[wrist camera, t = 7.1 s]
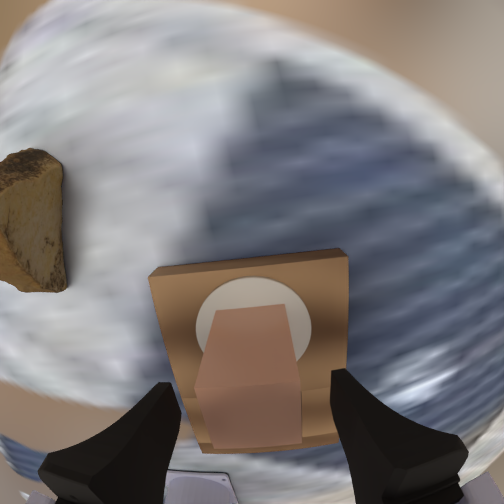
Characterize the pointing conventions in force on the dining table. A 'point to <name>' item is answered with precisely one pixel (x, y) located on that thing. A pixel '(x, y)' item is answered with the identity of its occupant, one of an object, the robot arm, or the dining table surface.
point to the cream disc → (253, 295)
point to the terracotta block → (250, 380)
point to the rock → (31, 222)
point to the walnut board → (310, 363)
